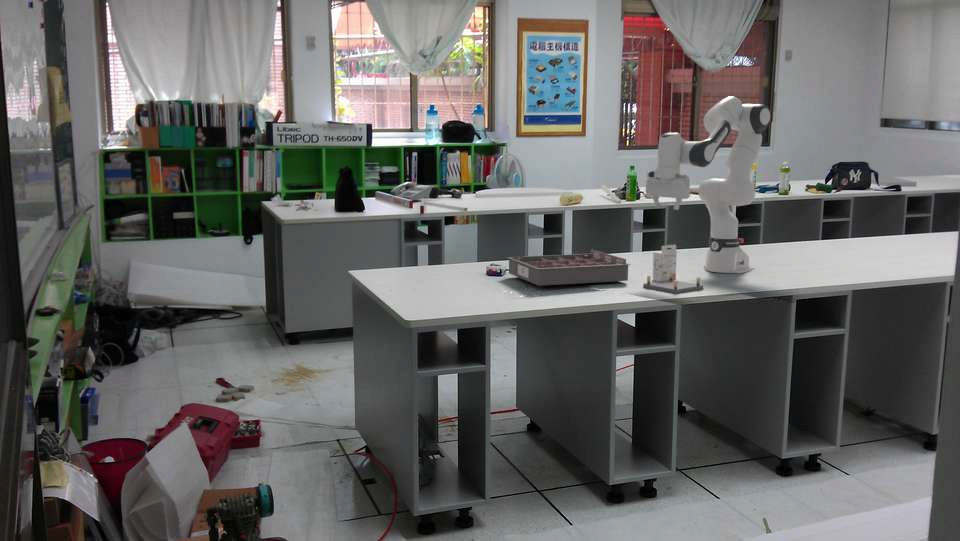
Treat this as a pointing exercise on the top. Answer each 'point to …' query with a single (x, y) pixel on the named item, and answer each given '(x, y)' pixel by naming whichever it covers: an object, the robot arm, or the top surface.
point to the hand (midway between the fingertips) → (666, 208)
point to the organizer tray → (569, 268)
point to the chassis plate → (673, 285)
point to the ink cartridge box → (664, 263)
